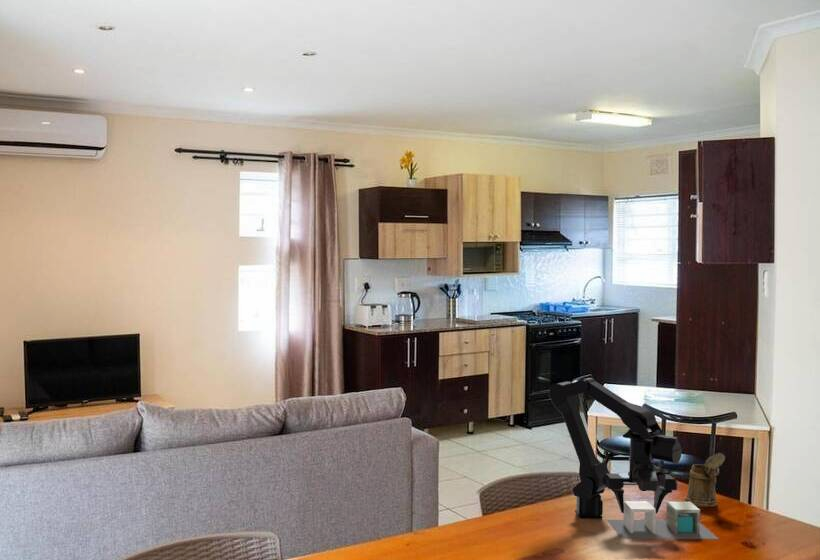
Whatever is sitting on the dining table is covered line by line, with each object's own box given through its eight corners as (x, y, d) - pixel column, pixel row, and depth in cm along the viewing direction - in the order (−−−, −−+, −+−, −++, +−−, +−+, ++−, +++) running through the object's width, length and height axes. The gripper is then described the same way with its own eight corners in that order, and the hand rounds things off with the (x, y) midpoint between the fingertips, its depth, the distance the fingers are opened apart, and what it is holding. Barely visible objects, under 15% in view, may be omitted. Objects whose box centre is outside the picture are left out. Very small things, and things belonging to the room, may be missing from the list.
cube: (678, 531, 205) (678, 516, 205) (672, 526, 209) (672, 511, 209) (692, 531, 205) (693, 516, 205) (686, 526, 209) (687, 511, 209)
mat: (621, 539, 199) (621, 538, 199) (606, 520, 213) (606, 519, 213) (718, 540, 200) (718, 538, 200) (697, 521, 214) (697, 520, 214)
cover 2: (675, 533, 204) (675, 509, 203) (666, 524, 210) (666, 501, 210) (699, 533, 204) (700, 509, 203) (689, 524, 210) (690, 501, 210)
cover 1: (630, 533, 203) (631, 509, 203) (623, 524, 210) (623, 501, 210) (655, 533, 203) (655, 509, 203) (646, 524, 210) (647, 501, 210)
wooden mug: (703, 513, 221) (705, 452, 220) (679, 499, 234) (681, 441, 234) (731, 512, 222) (733, 451, 222) (705, 498, 236) (707, 440, 235)
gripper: (615, 464, 198) (613, 523, 198) (686, 464, 198) (684, 523, 199) (603, 452, 209) (601, 508, 209) (670, 453, 209) (668, 509, 210)
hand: (638, 512), depth 207 cm, fingers open, 9 cm apart
